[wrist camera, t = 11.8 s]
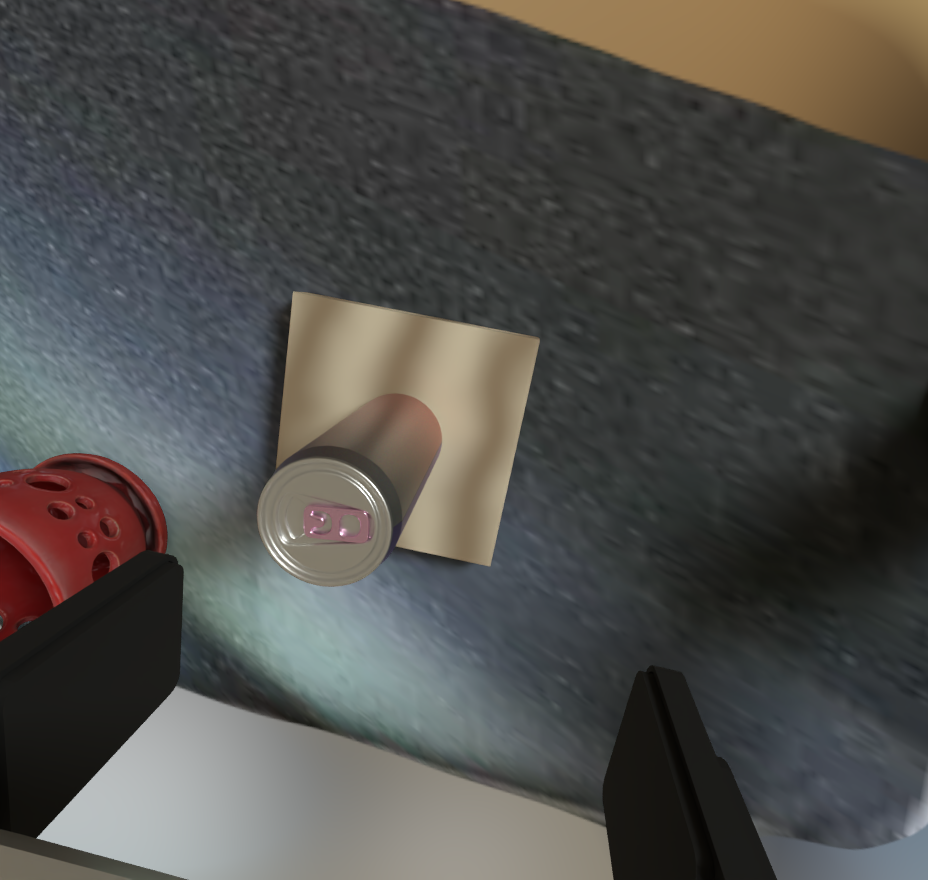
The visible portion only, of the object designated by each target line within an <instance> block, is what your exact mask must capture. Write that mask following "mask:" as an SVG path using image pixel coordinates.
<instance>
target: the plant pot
mask: <svg viewBox="0 0 928 880" xmlns="http://www.w3.org/2000/svg"><path fill="white" fill-rule="evenodd" d="M166 548H167V526H166V521H165V517H164V514H163V511H162V509H161V507H160V504H159V502H158V500H157V499H156V497H155V495H154V494H153V493H152V491H151V490H150V489H149V487H148V486H147V485H146V484H145V483H144V482H143V481H142V480H141V479H140V478H139V477H138V476H137V475H135V474H134V473H133V472H131V471H130V470H129V469H127V468H126V467H124V466H122V465H121V464H119V463H117V462H115V461H112V460H110V459H108V458H105V457H102V456H97V455H92V454H82V453H72V454H63V455H59V456H55V457H52V458H50V459H47V460H45V461H43V462H42V463H40V464H38V465H37V466H36V467H34V468H33V469H22V470H14V471H7V472H1V473H0V615H1V616H2V618H3V626H2V628H1V629H0V641H2V640H3V639H5V638H6V637H8V636H10V635H11V634H13V633H14V632H16V631H18V630H17V628H18V627H19V626H20V625H21V624H22V623H24V622H27V621H33V620H35V619H36V618H38V617H40V616H41V615H43V614H44V613H46V612H47V611H49V610H51V609H52V608H54V607H55V606H57V605H58V604H60V603H62V602H63V601H65V600H66V599H68V598H70V597H71V596H73V595H74V594H76V593H77V592H79V591H81V590H82V589H84V588H85V587H87V586H88V585H90V584H92V583H93V582H95V581H96V580H98V579H99V578H101V577H103V576H104V575H106V574H107V573H109V572H110V571H112V570H114V569H115V568H117V567H118V566H120V565H122V564H123V563H125V562H126V561H128V560H129V559H131V558H133V557H134V556H136V555H137V554H139V553H140V552H142V551H145V550H150V551H155V552H159V553H163V554H165V552H166Z"/></svg>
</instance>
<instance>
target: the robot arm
mask: <svg viewBox="0 0 928 880" xmlns="http://www.w3.org/2000/svg"><path fill="white" fill-rule="evenodd" d="M183 576H184V571H183V567H182V566H181V565H179V564H178V561H177V559H176V557H174V556H172V555H168V554H163V553H159V552H155V551H150V550H145V551H142V552H140V553H139V554H137V555H136V556H134V557H133V558H131V559H129V560H128V561H126V562H125V563H123V564H122V565H120V566H118V567H117V568H115V569H114V570H112V571H110V572H109V573H107V574H106V575H104V576H103V577H101V578H99V579H98V580H96V581H95V582H93V583H92V584H90V585H88V586H87V587H85V588H84V589H82V590H81V591H79V592H77V593H76V594H74V595H73V596H71V597H70V598H68V599H66V600H65V601H63V602H62V603H60V604H58V605H57V606H55V607H54V608H52V609H51V610H49V611H47V612H46V613H44V614H43V615H41V616H40V617H38V618H36V619H35V620H33V621H32V622H30V623H29V624H27V625H25V626H24V627H22V628H21V629H19V630H18V631H16V632H14V633H13V634H11V635H10V636H8V637H6V638H5V639H3V640H2V641H0V880H187V879H184V878H180V877H176V876H173V875H169V874H165V873H162V872H158V871H155V870H151V869H147V868H143V867H140V866H136V865H132V864H129V863H125V862H121V861H118V860H114V859H110V858H107V857H103V856H99V855H95V854H92V853H88V852H84V851H80V850H76V849H73V848H70V847H66V846H62V845H58V844H55V843H51V842H47V841H44V840H40V839H36V838H37V837H38V836H39V835H40V833H42V831H43V830H44V829H45V828H46V827H47V826H48V825H49V824H50V823H51V822H52V821H53V820H54V819H55V817H56V816H57V815H58V814H59V813H60V812H61V811H62V810H63V809H64V808H65V807H66V806H67V805H68V804H69V802H70V801H71V800H72V799H73V798H74V797H75V796H76V795H77V794H78V793H79V792H80V790H82V788H83V787H84V786H85V785H86V784H87V783H88V782H89V781H90V780H91V779H92V778H93V777H94V776H95V774H96V773H97V772H98V771H99V770H100V769H101V768H102V767H103V766H104V765H105V764H106V763H107V762H108V760H109V759H110V758H111V757H112V756H113V755H114V754H115V753H116V752H117V751H118V750H119V749H120V748H121V746H122V745H123V744H124V743H125V742H126V741H127V740H128V739H129V738H130V737H131V736H132V735H133V734H134V732H135V731H136V730H137V729H138V728H139V727H140V726H141V725H142V724H143V723H144V722H145V721H146V720H147V719H148V717H149V716H150V715H151V714H152V713H153V712H154V711H155V710H156V709H157V708H158V707H159V706H160V705H161V703H162V702H163V701H164V700H165V699H166V698H167V697H168V696H169V695H170V694H171V692H172V691H173V690H174V688H175V686H176V684H177V682H178V679H179V675H180V654H181V628H182V602H183ZM603 806H604V813H605V820H606V828H607V835H608V842H609V849H610V856H611V864H612V871H613V878H614V880H777V878H776V876H775V874H774V871H773V869H772V866H771V864H770V862H769V859H768V857H767V855H766V852H765V850H764V847H763V845H762V843H761V840H760V838H759V836H758V833H757V831H756V828H755V826H754V824H753V821H752V819H751V817H750V814H749V812H748V809H747V807H746V805H745V802H744V800H743V798H742V795H741V793H740V790H739V788H738V786H737V783H736V781H735V779H734V776H733V774H732V771H731V769H730V767H729V766H728V764H727V762H726V761H725V760H724V759H722V758H721V757H717V756H716V755H715V752H714V750H713V747H712V745H711V742H710V740H709V737H708V735H707V732H706V730H705V727H704V725H703V722H702V720H701V717H700V715H699V712H698V710H697V707H696V705H695V702H694V700H693V697H692V695H691V693H690V690H689V688H688V685H687V683H686V680H685V678H684V676H683V674H682V673H681V672H678V671H674V670H670V669H665V668H661V667H657V666H649V668H648V669H647V671H646V672H643V671H638V673H637V675H636V677H635V681H634V684H633V687H632V690H631V694H630V697H629V700H628V703H627V707H626V710H625V713H624V716H623V720H622V723H621V726H620V729H619V733H618V736H617V739H616V742H615V746H614V749H613V752H612V755H611V759H610V762H609V765H608V769H607V772H606V775H605V779H604V784H603Z"/></svg>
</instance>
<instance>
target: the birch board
mask: <svg viewBox="0 0 928 880" xmlns="http://www.w3.org/2000/svg"><path fill="white" fill-rule="evenodd" d="M539 342H540V339H539V338H538V337H534V336H528V335H523V334H518V333H513V332H508V331H503V330H498V329H492V328H487V327H482V326H477V325H472V324H467V323H462V322H456V321H451V320H446V319H441V318H436V317H431V316H426V315H421V314H415V313H410V312H405V311H400V310H395V309H390V308H385V307H379V306H374V305H369V304H364V303H359V302H354V301H349V300H343V299H338V298H333V297H328V296H323V295H318V294H313V293H307V292H293V299H292V309H291V319H290V329H289V340H288V350H287V360H286V370H285V380H284V390H283V400H282V411H281V421H280V431H279V441H278V451H277V461H276V469H277V468H278V467H279V465H280V464H281V463H282V462H284V461H285V460H286V459H287V458H289V457H290V456H291V455H293V454H294V453H296V452H297V451H299V450H300V449H302V448H303V447H304V446H306V445H307V444H309V443H310V442H312V441H313V440H315V439H316V438H318V437H319V436H320V435H322V434H323V433H325V432H326V431H328V430H329V429H331V428H332V427H333V426H335V425H336V424H338V423H339V422H341V421H342V420H344V419H345V418H346V417H348V416H349V415H351V414H352V413H354V412H355V411H357V410H358V409H359V408H361V407H362V406H364V405H365V404H367V403H368V402H370V401H371V400H373V399H374V398H376V397H379V396H381V395H385V394H392V393H397V394H405V395H409V396H412V397H414V398H416V399H418V400H420V401H421V402H423V403H424V404H425V405H426V406H427V407H428V408H429V409H430V410H431V411H432V412H433V413H434V415H435V416H436V418H437V420H438V422H439V425H440V428H441V433H442V447H441V451H440V454H439V457H438V459H437V461H436V463H435V465H434V467H433V469H432V471H431V473H430V476H429V478H428V480H427V482H426V484H425V486H424V488H423V490H422V492H421V494H420V496H419V498H418V500H417V502H416V505H415V507H414V509H413V511H412V513H411V515H410V517H409V519H408V521H407V523H406V525H405V527H404V529H403V531H402V534H401V536H400V538H399V540H398V542H397V544H396V547H401V548H406V549H411V550H415V551H420V552H425V553H429V554H434V555H439V556H443V557H448V558H453V559H458V560H462V561H467V562H472V563H476V564H481V565H486V566H490V565H491V560H492V556H493V551H494V546H495V542H496V537H497V533H498V528H499V524H500V519H501V515H502V510H503V506H504V501H505V496H506V492H507V487H508V483H509V478H510V474H511V469H512V465H513V460H514V455H515V451H516V446H517V442H518V437H519V433H520V428H521V424H522V419H523V415H524V410H525V405H526V401H527V396H528V392H529V387H530V383H531V378H532V374H533V369H534V364H535V360H536V355H537V351H538V346H539Z"/></svg>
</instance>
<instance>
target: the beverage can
mask: <svg viewBox="0 0 928 880" xmlns="http://www.w3.org/2000/svg"><path fill="white" fill-rule="evenodd" d="M441 447H442V433H441V428H440V425H439V422H438V420H437V418H436V416H435V415H434V413H433V412H432V411H431V410H430V409H429V408H428V407H427V406H426V405H425V404H424V403H423V402H421V401H420V400H418V399H416V398H414V397H412V396H409V395H405V394H397V393H392V394H385V395H381V396H379V397H376V398H374V399H373V400H371V401H370V402H368V403H367V404H365V405H364V406H362V407H361V408H359V409H358V410H357V411H355V412H354V413H352V414H351V415H349V416H348V417H346V418H345V419H344V420H342V421H341V422H339V423H338V424H336V425H335V426H333V427H332V428H331V429H329V430H328V431H326V432H325V433H323V434H322V435H320V436H319V437H318V438H316V439H315V440H313V441H312V442H310V443H309V444H307V445H306V446H304V447H303V448H302V449H300V450H299V451H297V452H296V453H294V454H293V455H291V456H290V457H289V458H287V459H286V460H285V461H284V462H282V463H281V464H280V465H279V467H278V468H277V469H276V470H275V472H274V473H273V475H272V477H271V478H270V479H269V481H268V482H267V484H266V485H265V487H264V489H263V491H262V493H261V496H260V498H259V502H258V508H257V523H258V529H259V533H260V536H261V539H262V542H263V544H264V546H265V548H266V549H267V551H268V553H269V554H270V556H271V557H272V558H273V559H274V561H275V562H276V563H277V564H278V565H279V566H280V567H281V568H283V569H284V570H285V571H286V572H288V573H289V574H291V575H292V576H294V577H296V578H298V579H300V580H302V581H305V582H307V583H310V584H314V585H319V586H329V587H334V586H343V585H348V584H351V583H354V582H357V581H359V580H361V579H363V578H365V577H366V576H368V575H369V574H370V573H372V572H373V571H374V570H375V569H376V568H377V567H378V566H379V565H380V564H381V563H382V562H384V561H385V560H386V559H387V558H388V556H389V555H390V554H391V552H392V551H393V549H394V548H395V546H396V544H397V542H398V540H399V538H400V536H401V534H402V531H403V529H404V527H405V525H406V523H407V521H408V519H409V517H410V515H411V513H412V511H413V509H414V507H415V505H416V502H417V500H418V498H419V496H420V494H421V492H422V490H423V488H424V486H425V484H426V482H427V480H428V478H429V476H430V473H431V471H432V469H433V467H434V465H435V463H436V461H437V459H438V457H439V454H440V451H441Z"/></svg>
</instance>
